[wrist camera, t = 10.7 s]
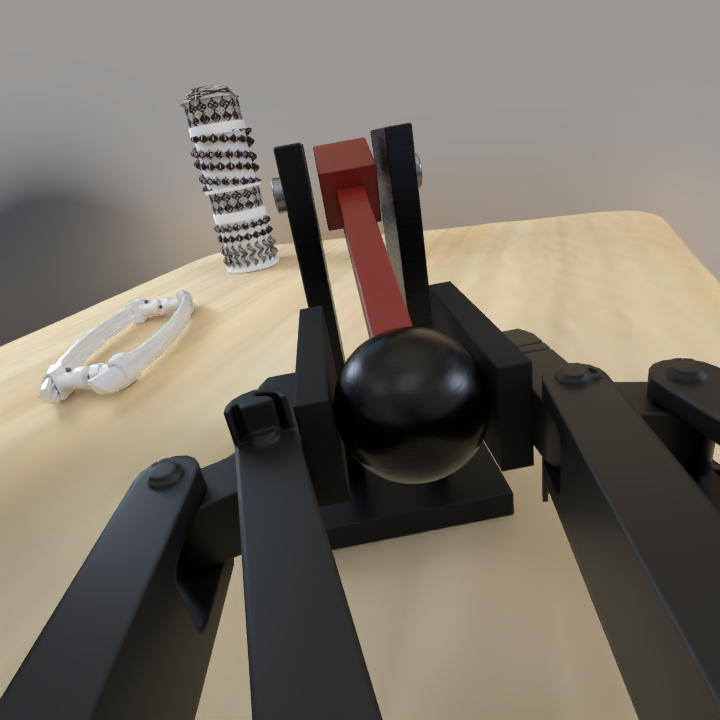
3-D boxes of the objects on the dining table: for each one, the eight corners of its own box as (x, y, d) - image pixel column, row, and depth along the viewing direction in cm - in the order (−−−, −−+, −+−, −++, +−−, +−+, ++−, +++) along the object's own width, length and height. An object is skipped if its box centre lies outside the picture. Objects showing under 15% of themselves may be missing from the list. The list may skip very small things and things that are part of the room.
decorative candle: (291, 260, 74) (250, 78, 64) (236, 277, 70) (183, 85, 60) (268, 255, 82) (227, 90, 71) (217, 270, 77) (165, 97, 67)
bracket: (514, 514, 21) (500, 105, 14) (309, 554, 20) (196, 160, 14) (447, 393, 30) (421, 122, 24) (309, 419, 30) (244, 154, 24)
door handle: (16, 422, 37) (134, 315, 60) (138, 400, 37) (211, 302, 60) (0, 392, 36) (126, 295, 59) (126, 370, 36) (204, 281, 59)
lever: (507, 497, 11) (526, 397, 9) (355, 526, 11) (329, 435, 8) (387, 201, 22) (380, 118, 19) (310, 215, 22) (292, 134, 19)
